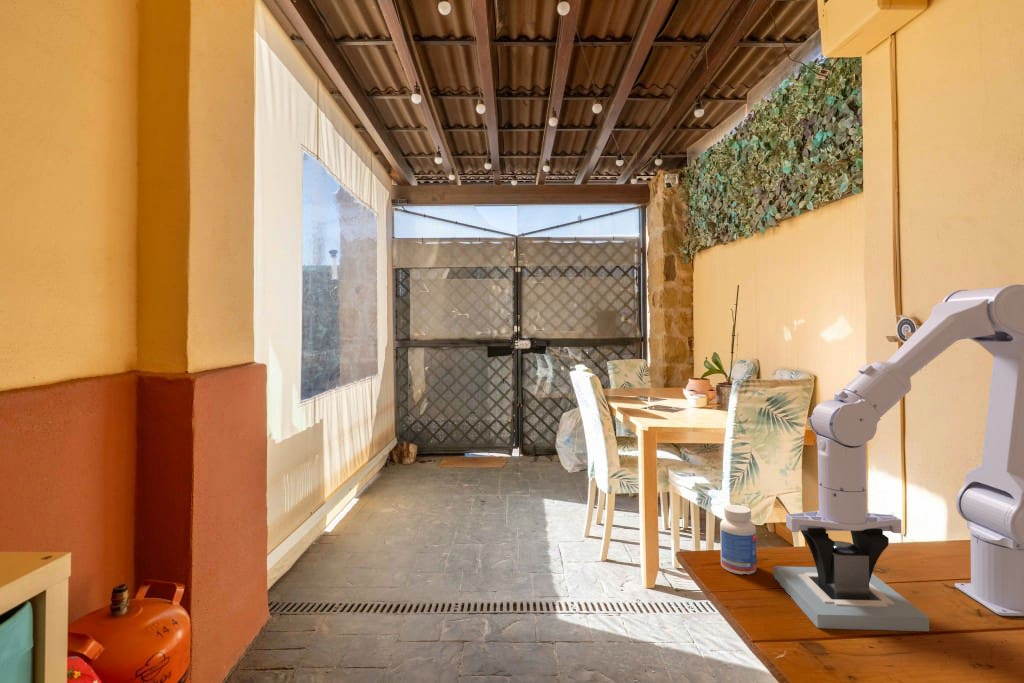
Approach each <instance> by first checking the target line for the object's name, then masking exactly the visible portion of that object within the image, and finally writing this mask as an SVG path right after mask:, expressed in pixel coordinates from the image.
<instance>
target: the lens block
mask: <svg viewBox="0 0 1024 683" xmlns="http://www.w3.org/2000/svg"><path fill="white" fill-rule="evenodd" d="M833 541H834V542H835V544H834V547H833V552H832V558H831V583H830V584H825V583H824V582H823V581H822V580H821V579H820V578H819V577H818V585H819V587H820V588H821V589H822V591H824V592H825V593H826V594H827V595H828V596H829V597H830V598H831V599H836V600H870V598H869V556H868V555H867V554H865V553H864V552H863V551H861V550H860V549H858V548H857V547H856V546H855V545H853V542H852V543H851V542H846V541H841V540H833Z"/></svg>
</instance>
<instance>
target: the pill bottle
mask: <svg viewBox="0 0 1024 683" xmlns="http://www.w3.org/2000/svg"><path fill="white" fill-rule="evenodd" d="M723 512H724V513H723V514H724V517H725V518H724V519H722V520H721V521H720V524H719V532H720V534H719V535H720V565H721V567H722V568H723V569H724V570H726V571H728V572H730V573H732V574H737V575H743V574H747V575H752V574H754V573H755V572H756V571H757V567H758V566H757V565H758V562H757V557H758V556H757V528H756V527H757V526H755V523H754V522H752V521H751V519H752V510H751V508H749V507H748V506H744V505H741V504H728V505H725V506H724V509H723Z"/></svg>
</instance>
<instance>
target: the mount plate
mask: <svg viewBox="0 0 1024 683" xmlns="http://www.w3.org/2000/svg"><path fill="white" fill-rule="evenodd" d="M773 579H775V581H776V580H777V581H778V582H779V583H780V584H779V583H778V582H777V581H776V582H777V583H778V584H779V585H780V586H781V587H782V589H783V588H784V589H785V590H784V589H783V590H784V591H785V592H786V593H787V595H788V596H789V595H790V596H791V597H790V596H789V597H790V598H791V599H792V600H793V602H794V603H795V604H796V605H797V606H798V607H799V608H800V610H801V611H802V612H803V613H804V614H805V615H806V616H807V618H808V619H809V620H810V621H811V622H812V623H813V625H814V626H815V627H816V628H817V629H831V630H832V629H834V630H836V629H837V630H868V631H869V630H870V631H906V632H914V631H915V632H929V631H930V617H929V616H928V615H927V614H925V612H922V611H921V610H920V609H919V608H917V607H916V606H915V605H914V604H913V603H911V602H910V601H908V600H907V599H906V598H904V596H902V595H901V594H900V593H898V592H897V591H896V590H894V589H893V588H892V587H890V586H889V585H888V584H887V583H886V582H884V581H883V580H881V578H879V577H877V576H876V575H875V574H874V573H872V575H871V579H870V582H869V598H870V600H836V599H831V598H830V597H829V596H828V595H827V594H826V593H825V592H824V591H823V590H822V589H821V588H820V587H819V585H818V573H817V568H816V566H781V565H780V566H774V565H773Z"/></svg>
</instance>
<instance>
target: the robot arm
mask: <svg viewBox="0 0 1024 683" xmlns="http://www.w3.org/2000/svg"><path fill="white" fill-rule="evenodd" d="M966 339H969V340H971V341H973V342H976V343H977V344H979V345H980V346H981V347H982V348H984V350H986V352H988V353H989V354H991V355H992V357H993V358H992V367H991V368H992V369H991V378H990V387H989V395H988V406H987V411H986V412H987V414H986V421H985V431H984V440H983V448H982V456H981V464H979V465H978V466H976V467H973V469H970V470H969V471H967V472H966V473H965V476H964V482H963V485H962V487H961V488H960V490H959V491H958V493H957V495H956V498H955V507H956V511H957V513H958V514H959V516H960V517H961V518H962V519H963V520H964V521H966V529H968V530H969V531H970V582H966V583H965V582H955V583H954V587H955V588H956V589H958V590H960V591H961V592H963V593H964V594H966V595H967V596H969V597H970V598H972V599H973V600H975V601H977V602H978V603H980V604H981V605H983V606H984V607H986V608H987V609H989V610H990V611H992V612H993V613H995V614H997V615H998V616H1003V617H1004V616H1006V617H1007V616H1008V617H1024V284H1020V283H1017V284H1009V285H1006V286H997V287H987V288H978V289H975V288H974V289H957V290H954V291H952V292H950V293H948V294H947V295H946V296H945V297H943V300H942V301H940V302H939V303H937V304H936V305H934V306H933V307H932V308H931V312H930V316H929V317H928V318H927V319H926V320H925V321H924V322H923V323H922V324H921V325H920V327H918V328H917V330H915V331H914V333H913V334H912V335H911V336H910V337H909V338H908V339H907V340H906V341H905V342H904V343H903V344H902V345H901V346H900V347H899V348H898V349H897V350H896V351H895V352H894V354H892V356H890V358H889V359H888V360H886V361H873V362H870V364H863V365H862V366H861V367H859V369H858V370H857V371H858V373H859V374H858V375H856V377H855V378H853V379H852V380H851V381H850V382H848V384H847V385H846V386H845V387H844V388H842V389H838V390H837V391H836V392H834V394H833V395H834V398H833V399H827V400H822V401H821V402H819V403H818V404H817V405H816V406H815V407H814V409H813V411H812V414H811V416H810V417H808V418H807V423H808V426H809V428H810V430H811V431H812V433H813V434H814V435H815V436H816V445H817V483H818V486H817V487H818V488H817V489H818V492H817V493H818V510H813V511H805V512H800V513H799V512H798V513H786V514H785V527H786V528H787V529H788V530H790V532H792V533H801V535H802V537H803V538H804V540H805V541H806V544H807V546H808V548H809V550H810V553H811V555H812V557H813V561H814V564H815V567H816V568H817V573H818V577H819V578H820V579H821V580H822V581H823V582H824V583H825V584H830V583H831V558H832V552H833V547H834V544H835V542H834V541H835V540H833V539H832V538H830V537H829V533H827V532H828V531H831V532H832V531H834V532H835V531H836V532H837V531H839V532H842V531H844V532H847V531H848V532H850V533H851V534H850V535H851V538H852V539H851V540H852V544H853V545H855V546H856V547H857V548H858V549H860V550H861V551H863V552H864V553H865V554H867V555H868V556H869V582H870V579H871V575H872V574H873V573H874V569H875V567H876V564H877V562H878V560H879V559H880V557H881V555H882V554H883V553H884V551H885V549H887V548H888V546H889V545H890V544H889V543H890V542H889V537H888V536H887V535H885V534H884V532H891V533H893V534H902V531H903V530H902V519H901V518H899V517H897V516H895V515H894V514H884V513H875V512H872V513H871V512H867V511H868V510H867V509H868V508H867V507H868V506H867V501H868V500H867V461H866V460H867V456H866V455H867V453H866V452H867V451H866V450H867V447H866V446H867V445H866V443H867V442H869V441H871V440H873V438H874V437H875V435H876V432H877V428H878V424H879V422H880V421H881V419H882V417H883V416H884V415H885V414H887V413H888V411H890V410H891V409H892V408H893V407H894V406H895V405H896V404H897V403H898V402H900V401H901V400H902V399H903V398H904V397H905V396H906V395H907V394H908V393H910V392H911V390H912V383H911V382H912V380H911V378H912V377H913V376H914V375H916V374H917V373H918V372H919V371H921V370H922V369H924V368H925V366H927V365H928V364H930V363H931V362H932V361H934V360H935V359H936V358H937V357H939V356H940V355H941V354H942V353H943V352H945V351H946V350H947V349H949V348H950V347H951V346H952V345H954V344H955V343H956V342H957V341H960V340H966Z"/></svg>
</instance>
